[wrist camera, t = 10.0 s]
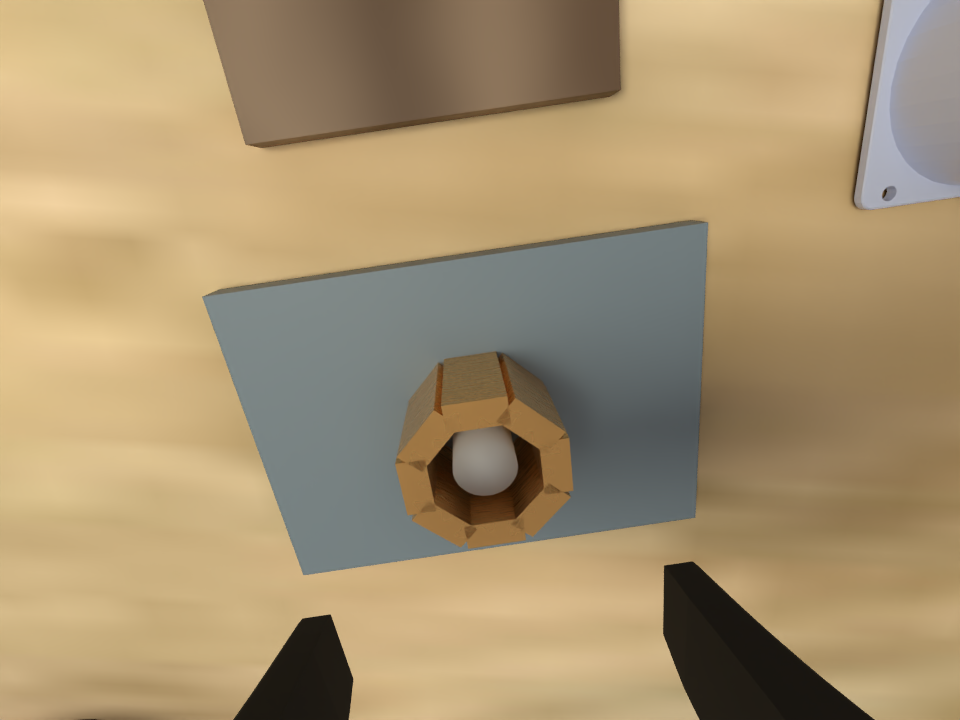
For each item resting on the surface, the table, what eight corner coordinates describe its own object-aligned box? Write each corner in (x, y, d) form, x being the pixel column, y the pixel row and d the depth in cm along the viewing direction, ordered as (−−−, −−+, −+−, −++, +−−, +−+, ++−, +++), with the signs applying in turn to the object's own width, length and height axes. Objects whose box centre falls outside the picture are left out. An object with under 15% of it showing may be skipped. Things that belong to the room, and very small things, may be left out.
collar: (541, 344, 17) (565, 387, 14) (552, 465, 19) (576, 532, 16) (398, 365, 17) (383, 414, 14) (424, 484, 19) (417, 556, 16)
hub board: (691, 220, 17) (768, 230, 13) (682, 500, 22) (737, 575, 18) (218, 289, 17) (142, 323, 13) (311, 555, 22) (277, 643, 18)
